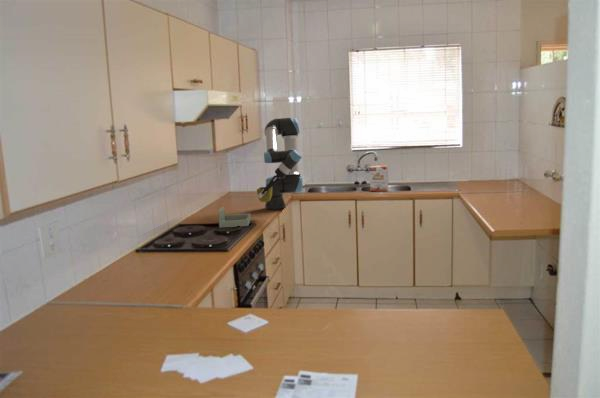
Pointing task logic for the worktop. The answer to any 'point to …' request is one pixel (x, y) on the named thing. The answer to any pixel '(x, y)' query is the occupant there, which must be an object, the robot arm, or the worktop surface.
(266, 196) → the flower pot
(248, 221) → the pale green open box
